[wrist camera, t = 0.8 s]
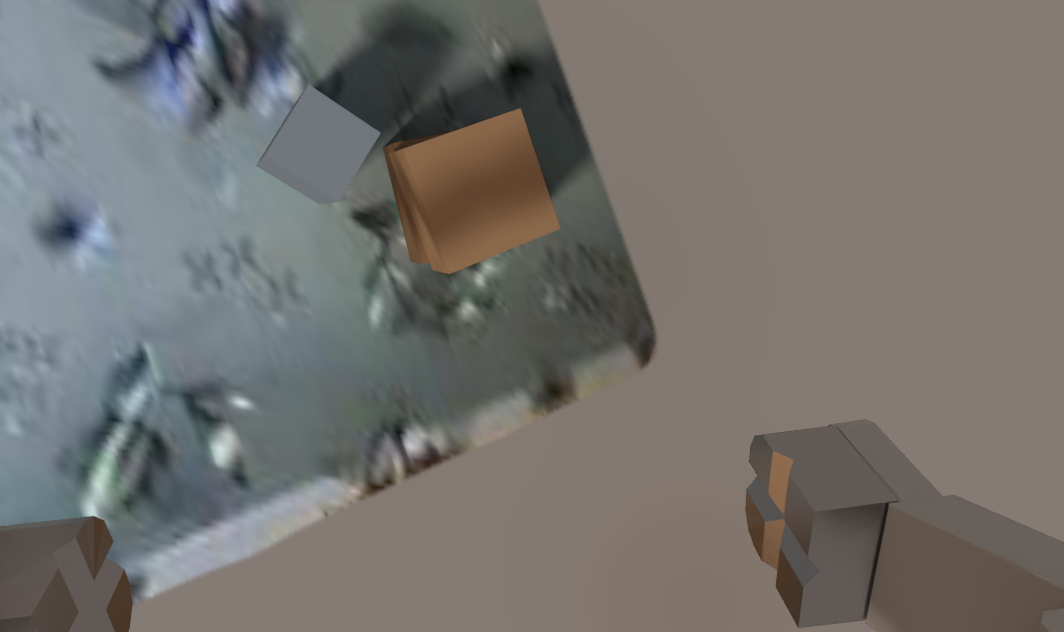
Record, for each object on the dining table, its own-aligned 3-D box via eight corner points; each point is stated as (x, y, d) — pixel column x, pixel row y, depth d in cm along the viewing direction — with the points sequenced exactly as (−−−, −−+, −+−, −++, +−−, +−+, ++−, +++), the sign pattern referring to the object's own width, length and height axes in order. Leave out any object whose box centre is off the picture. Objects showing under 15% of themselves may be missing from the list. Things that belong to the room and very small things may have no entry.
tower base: (381, 147, 47) (393, 142, 44) (488, 126, 49) (507, 120, 46) (409, 260, 49) (422, 263, 45) (512, 234, 51) (532, 235, 48)
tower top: (389, 154, 44) (402, 148, 41) (499, 115, 46) (520, 107, 43) (432, 270, 46) (449, 274, 42) (537, 227, 48) (560, 228, 44)
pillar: (256, 165, 44) (264, 155, 37) (293, 106, 45) (308, 84, 37) (319, 204, 46) (339, 201, 38) (354, 146, 46) (380, 132, 39)
